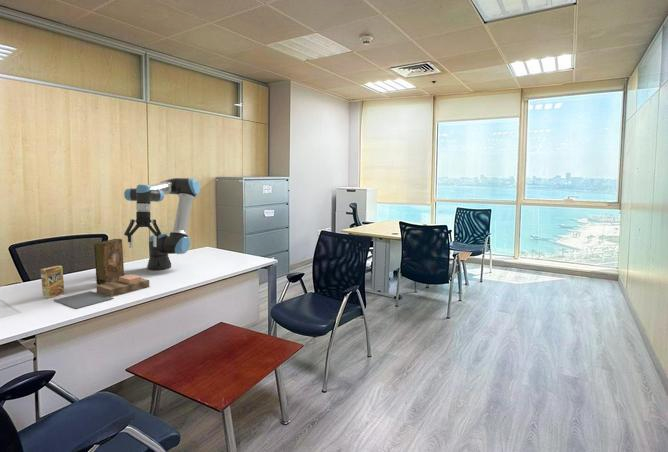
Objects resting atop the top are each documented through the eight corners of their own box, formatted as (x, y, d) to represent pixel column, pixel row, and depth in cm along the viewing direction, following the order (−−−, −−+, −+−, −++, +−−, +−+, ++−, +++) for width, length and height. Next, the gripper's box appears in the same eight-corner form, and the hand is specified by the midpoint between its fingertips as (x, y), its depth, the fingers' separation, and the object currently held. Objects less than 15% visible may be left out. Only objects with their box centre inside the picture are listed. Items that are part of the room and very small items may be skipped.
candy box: (47, 298, 201) (45, 269, 199) (42, 297, 203) (39, 268, 200) (65, 293, 209) (62, 266, 207) (59, 292, 211) (57, 265, 209)
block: (130, 278, 226) (130, 274, 226) (141, 281, 221) (141, 276, 221) (119, 281, 220) (118, 276, 220) (129, 284, 215) (129, 279, 215)
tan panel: (135, 283, 231) (134, 276, 230) (149, 287, 224) (149, 280, 223) (96, 292, 212) (96, 285, 212) (111, 297, 205) (110, 289, 204)
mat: (90, 291, 213) (90, 290, 213) (113, 299, 202) (113, 298, 202) (53, 300, 198) (53, 299, 198) (76, 309, 187) (76, 308, 187)
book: (118, 278, 239) (115, 238, 236) (125, 279, 238) (123, 239, 235) (96, 286, 224) (93, 243, 220) (105, 286, 222) (102, 243, 219)
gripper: (123, 211, 216) (123, 249, 217) (167, 211, 235) (166, 246, 236) (118, 210, 221) (117, 247, 222) (161, 211, 240) (161, 245, 241)
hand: (143, 247), depth 229 cm, fingers open, 13 cm apart
